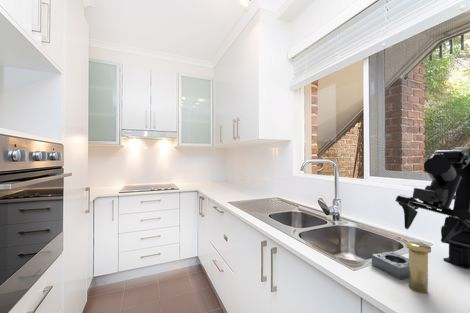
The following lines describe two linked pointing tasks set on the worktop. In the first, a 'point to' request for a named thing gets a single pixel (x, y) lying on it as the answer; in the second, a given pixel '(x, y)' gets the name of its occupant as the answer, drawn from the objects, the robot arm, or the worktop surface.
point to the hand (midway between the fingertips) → (423, 234)
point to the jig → (392, 264)
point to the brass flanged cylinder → (418, 266)
